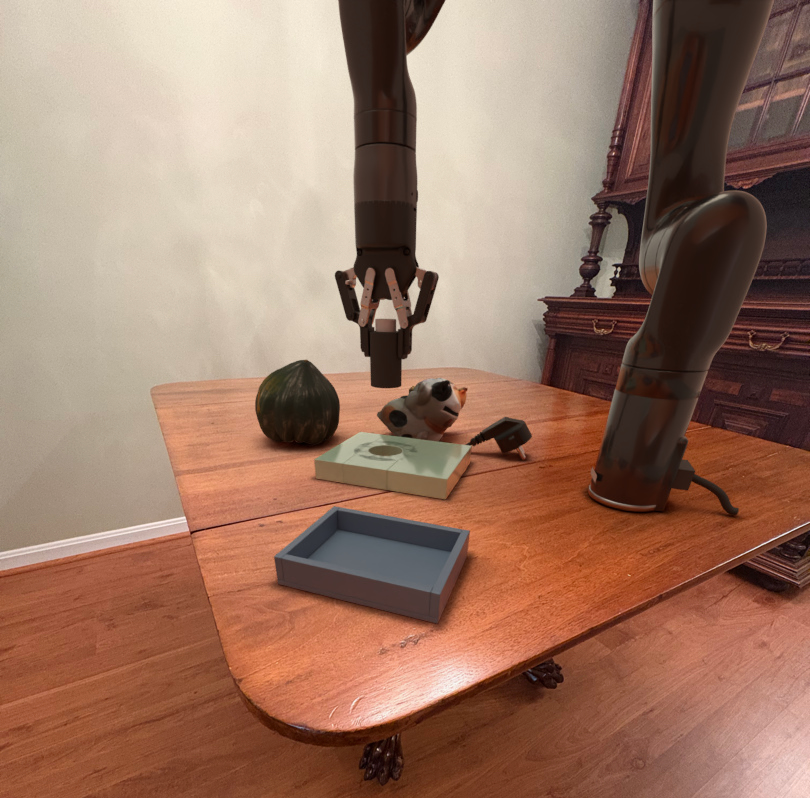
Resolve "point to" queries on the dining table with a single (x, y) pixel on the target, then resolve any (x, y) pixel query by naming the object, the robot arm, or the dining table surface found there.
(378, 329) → the dark brown bottle
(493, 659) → the dining table surface
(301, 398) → the squash
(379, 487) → the drain board
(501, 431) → the power plug
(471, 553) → the dining table surface
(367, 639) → the dining table surface
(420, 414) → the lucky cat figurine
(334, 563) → the blue-grey tray
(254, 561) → the dining table surface
